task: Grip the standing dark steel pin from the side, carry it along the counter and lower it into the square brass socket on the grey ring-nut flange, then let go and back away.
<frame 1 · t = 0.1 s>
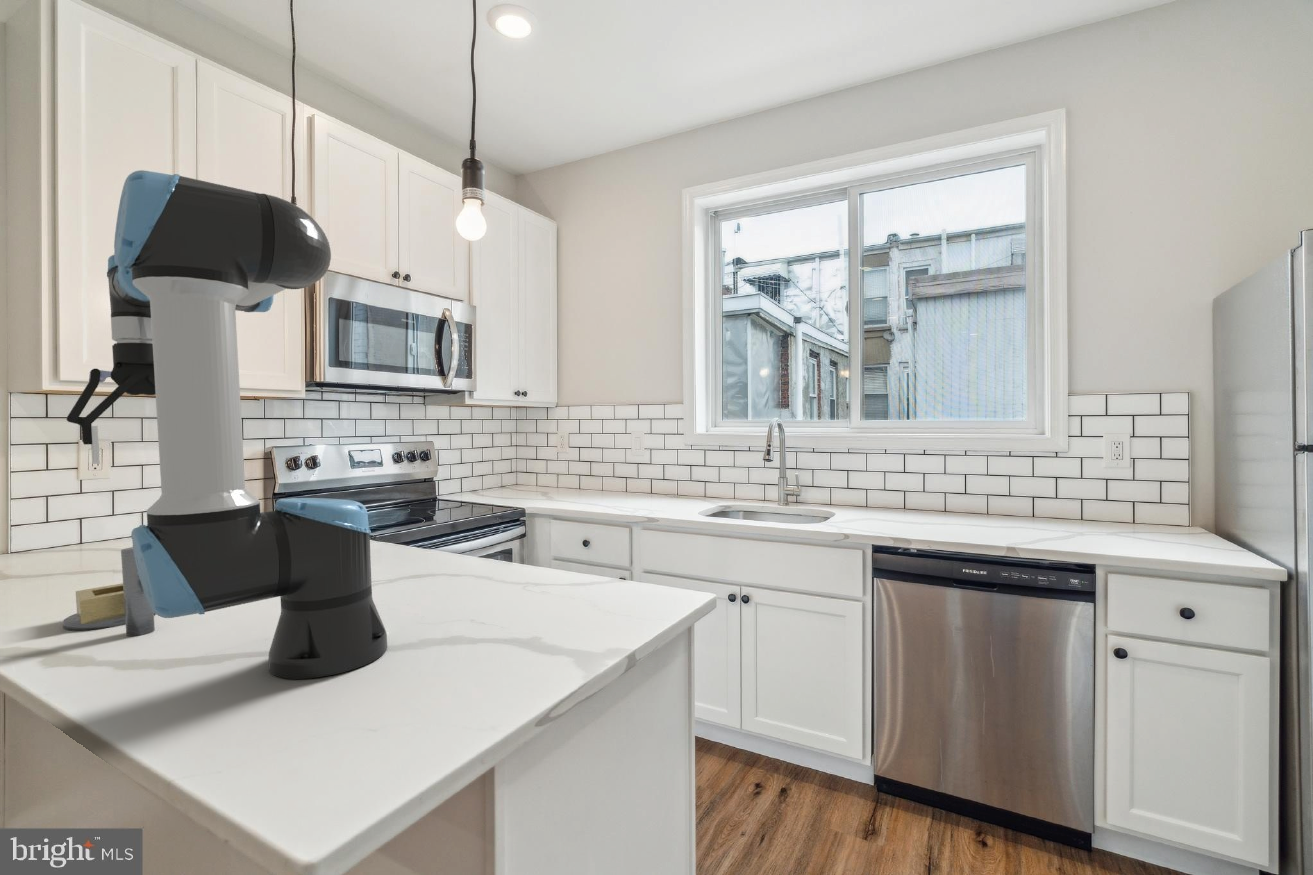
hand: (146, 460, 112), 28 cm above the table, tool pointing down, fingers open, 13 cm apart
socket: (114, 617, 109), on the table
pin: (140, 632, 101), on the table
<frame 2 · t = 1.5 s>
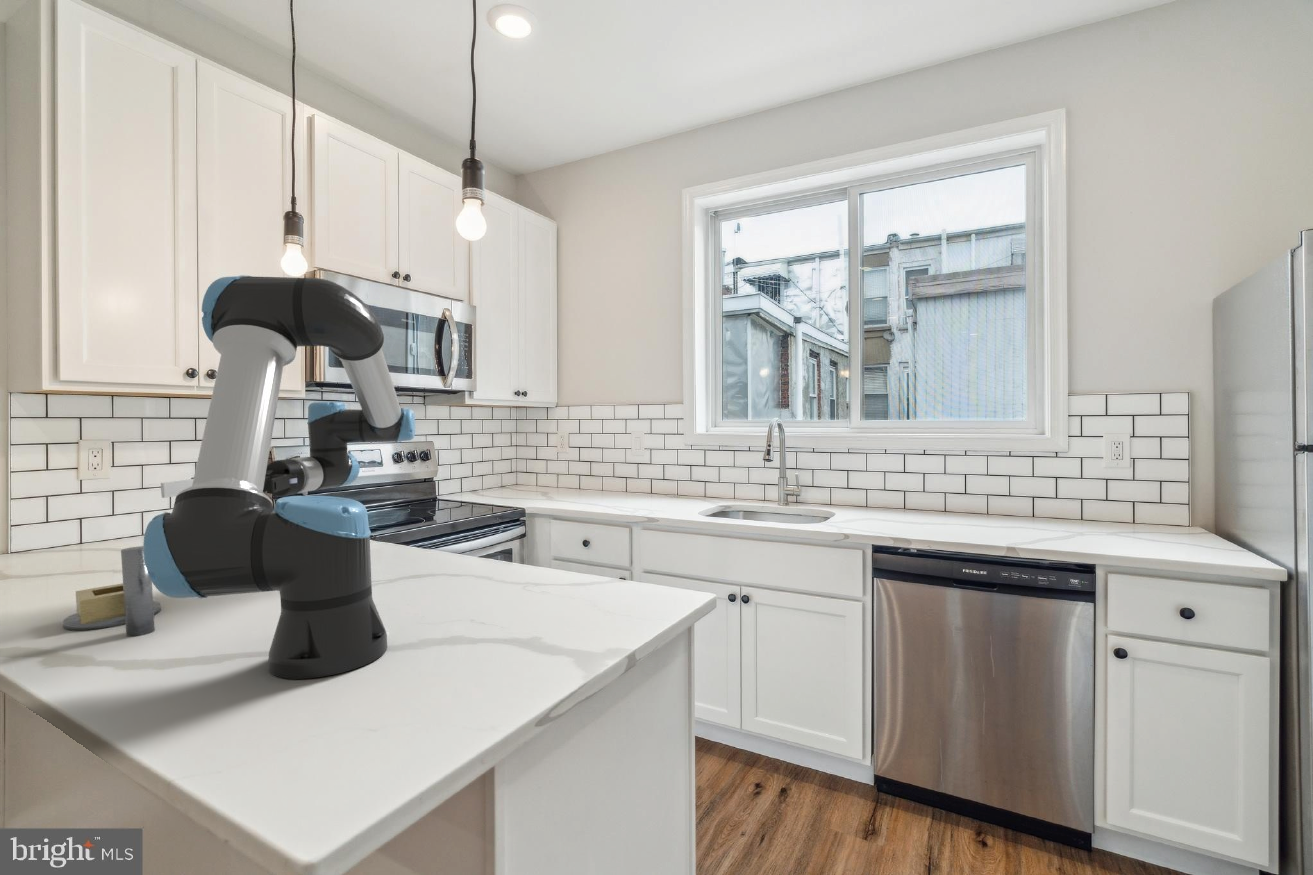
hand: (189, 491, 109), 22 cm above the table, tool horizontal, fingers open, 13 cm apart
nothing on the table moved.
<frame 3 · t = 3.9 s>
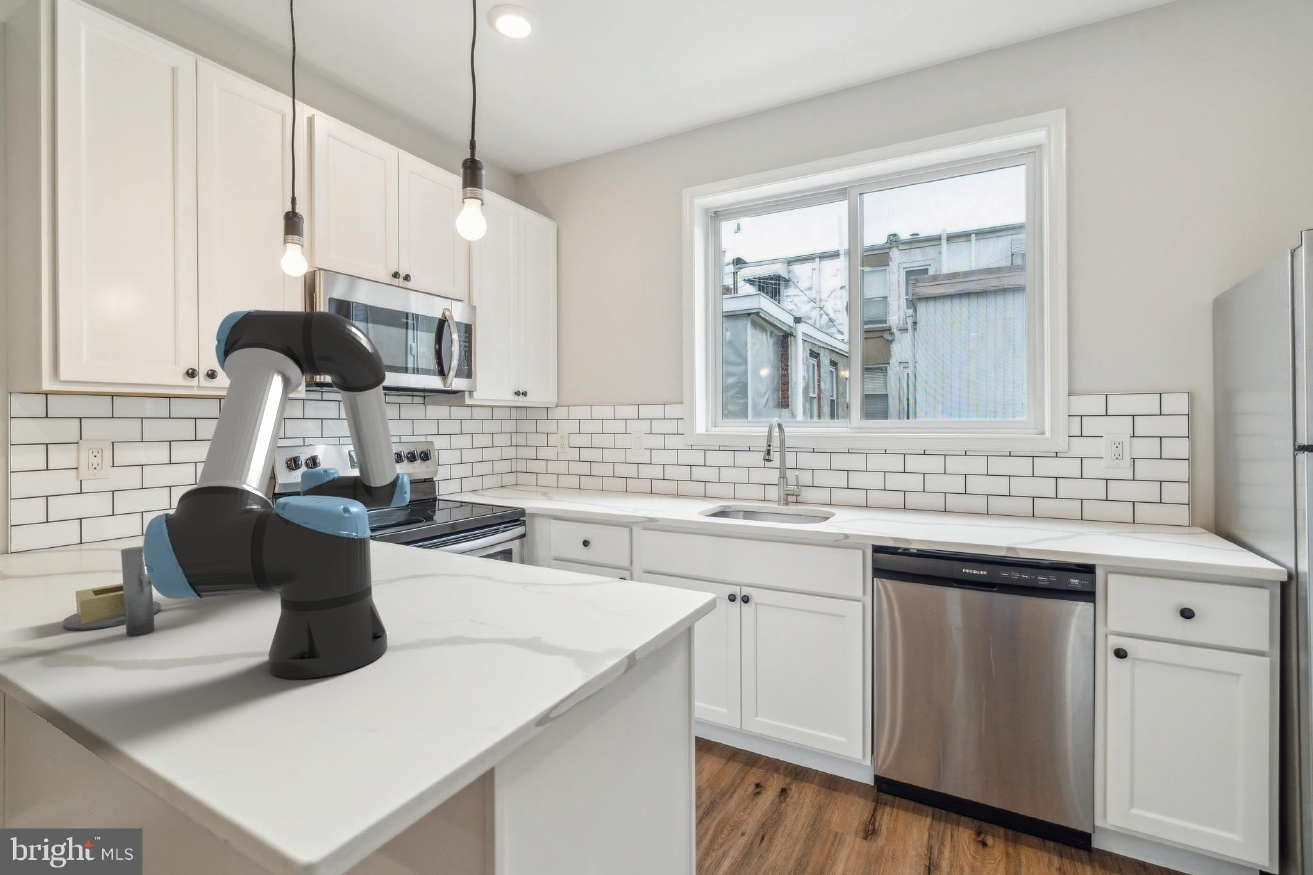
hand: (174, 575, 107), 8 cm above the table, tool horizontal, fingers open, 13 cm apart
nothing on the table moved.
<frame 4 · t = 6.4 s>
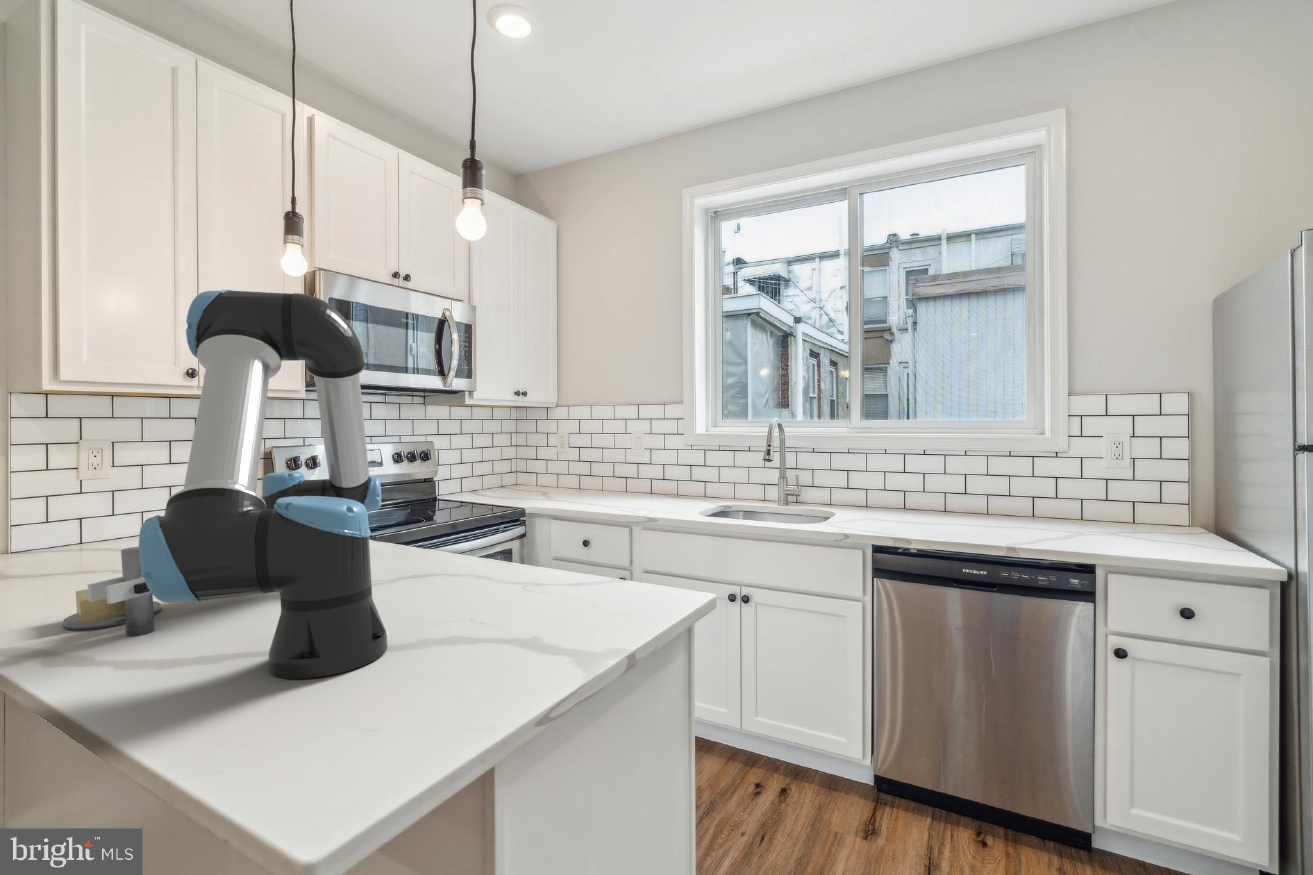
hand: (99, 593, 96), 8 cm above the table, tool horizontal, fingers closed on pin, 4 cm apart
pin: (140, 632, 101), on the table, touching gripper
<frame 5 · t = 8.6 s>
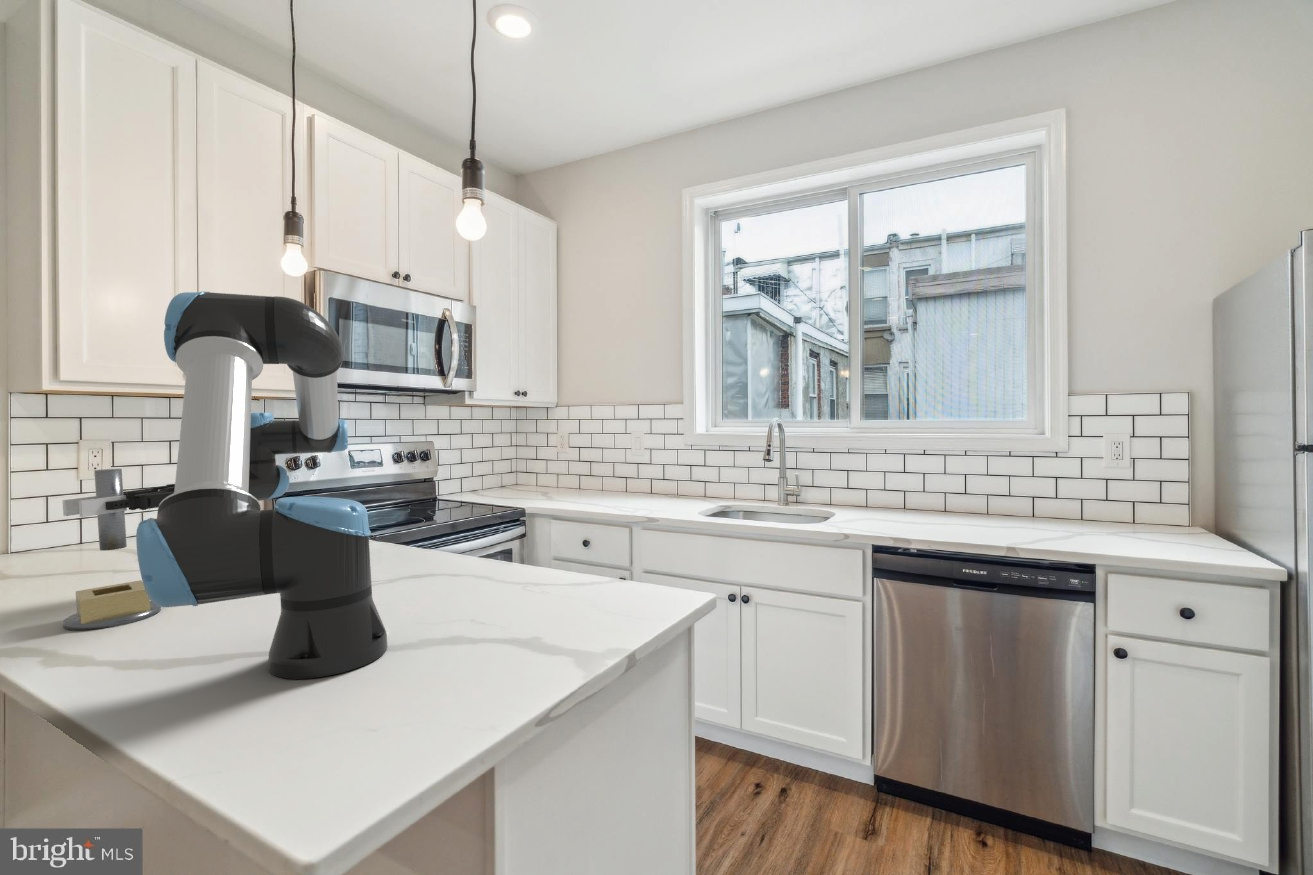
hand: (72, 508, 103), 20 cm above the table, tool horizontal, fingers closed on pin, 4 cm apart
pin: (113, 548, 109), point 12 cm above the table, touching gripper
when the fingers open (11 cm above the table, at t = 11.0 s): pin drops 2 cm, resting on socket.
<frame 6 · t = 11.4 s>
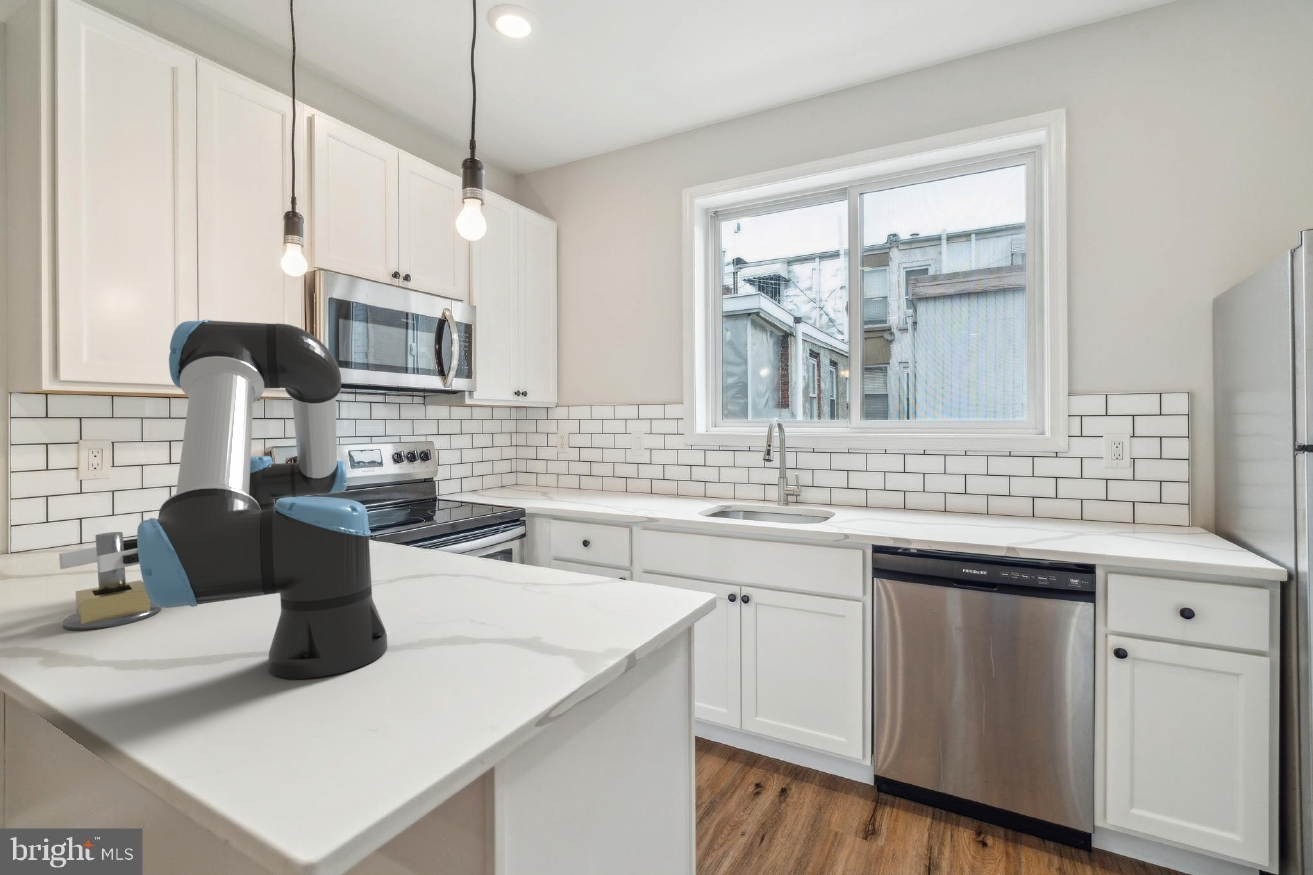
hand: (79, 562, 105), 11 cm above the table, tool horizontal, fingers open, 9 cm apart
pin: (114, 611, 109), point 1 cm above the table, touching socket
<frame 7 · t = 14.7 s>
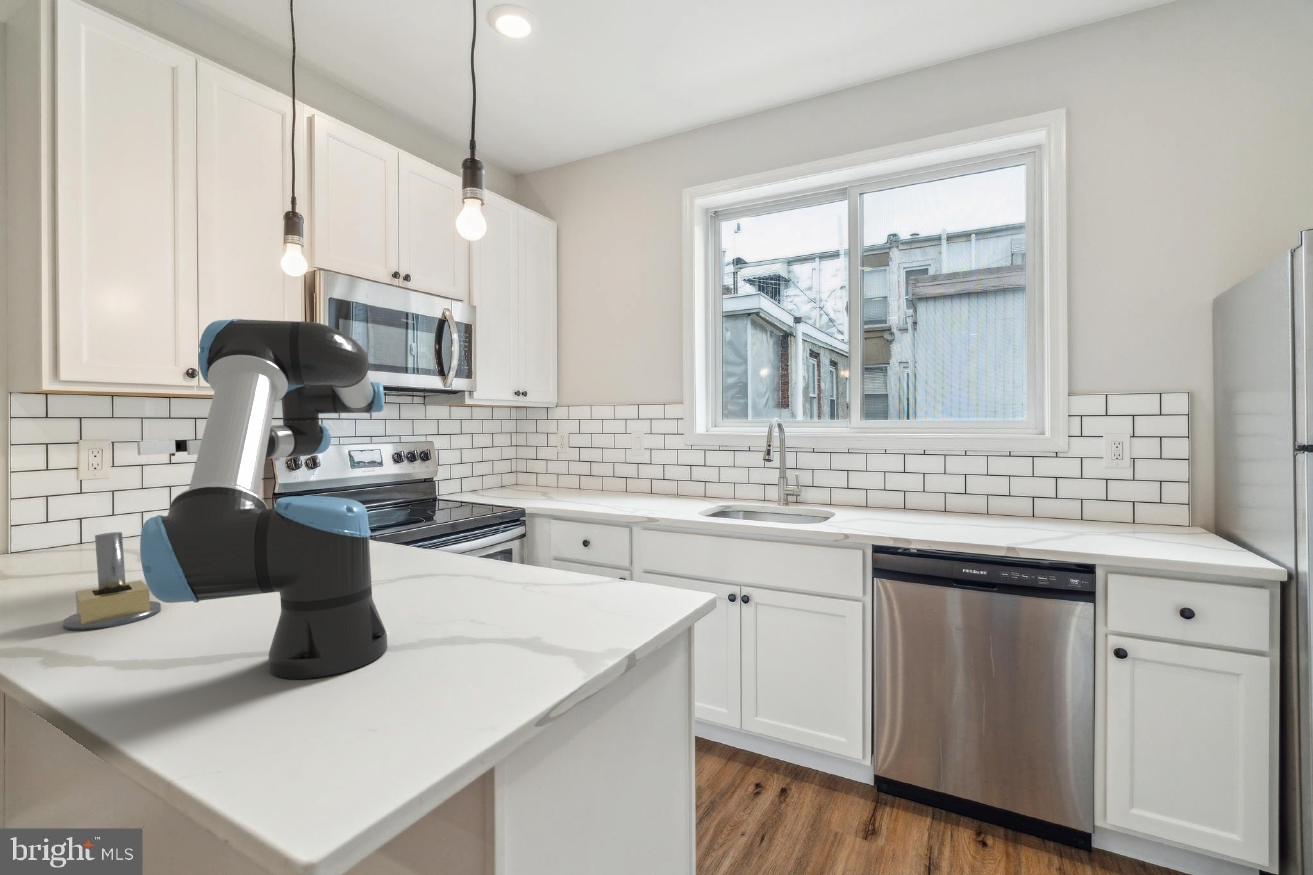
hand: (162, 448, 117), 30 cm above the table, tool horizontal, fingers open, 13 cm apart
nothing on the table moved.
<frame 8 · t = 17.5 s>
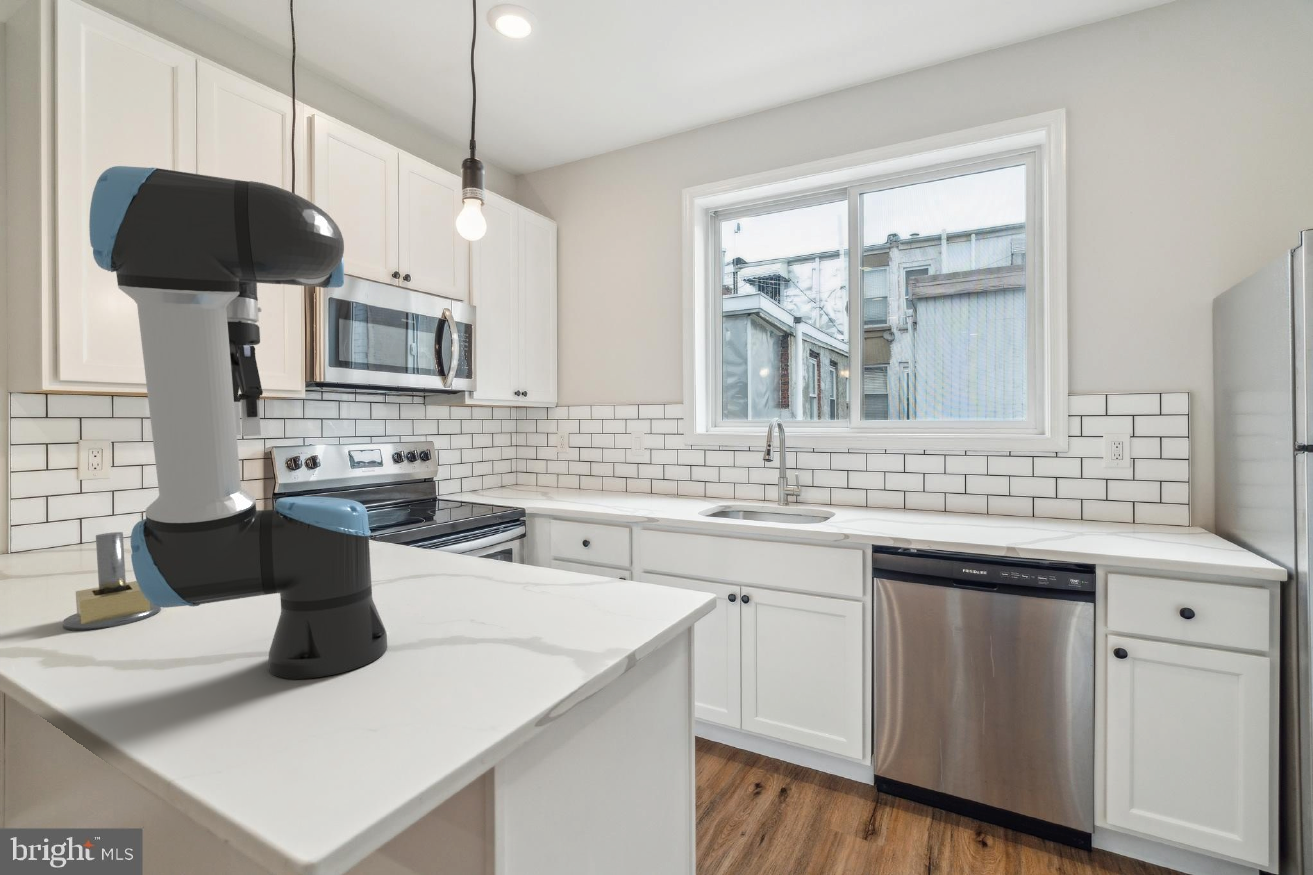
hand: (241, 435, 116), 32 cm above the table, tool pointing down, fingers open, 13 cm apart
nothing on the table moved.
at the end: pin 0.1 cm off-centre on the socket, point 1.0 cm above the socket's base; pin tilted 0°; the gripper is holding nothing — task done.
